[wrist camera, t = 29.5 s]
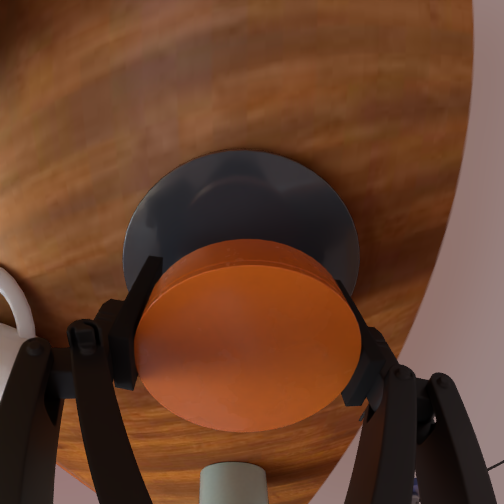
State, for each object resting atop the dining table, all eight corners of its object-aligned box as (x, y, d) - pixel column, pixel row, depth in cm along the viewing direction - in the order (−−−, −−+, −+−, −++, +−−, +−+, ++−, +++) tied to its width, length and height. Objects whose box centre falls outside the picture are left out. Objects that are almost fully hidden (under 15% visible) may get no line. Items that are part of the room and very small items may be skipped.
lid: (154, 217, 11) (138, 240, 9) (374, 261, 12) (398, 288, 10) (143, 382, 15) (134, 416, 12) (307, 403, 16) (315, 436, 14)
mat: (380, 175, 17) (387, 178, 16) (320, 361, 23) (322, 370, 22) (134, 134, 16) (128, 135, 15) (130, 341, 21) (126, 350, 20)
